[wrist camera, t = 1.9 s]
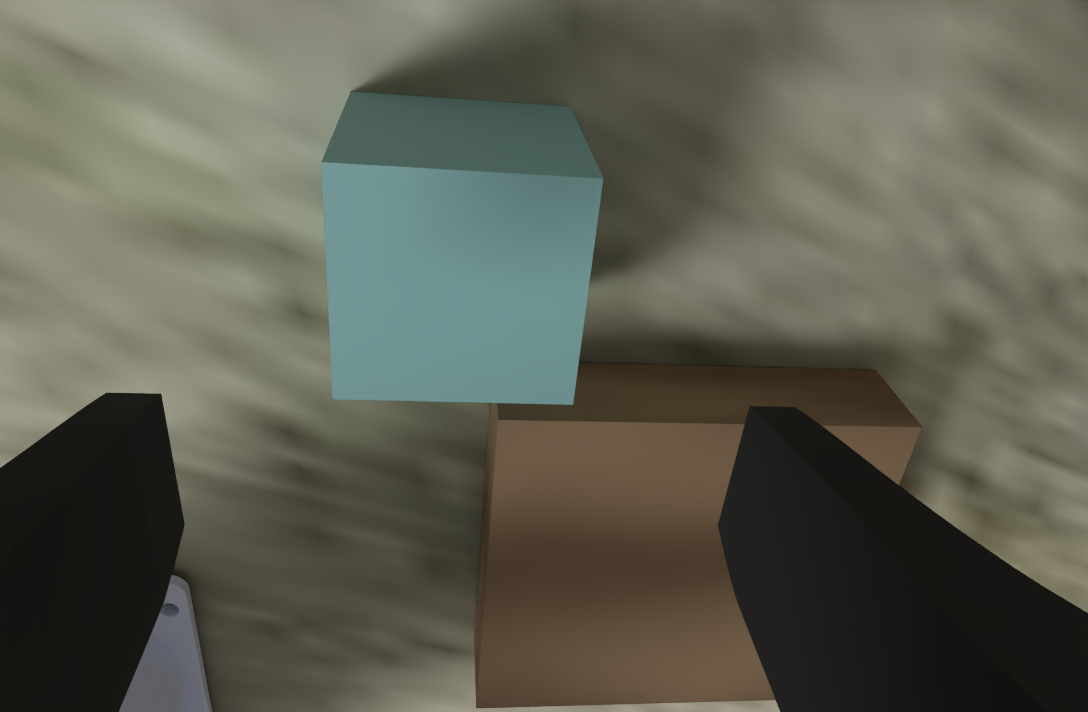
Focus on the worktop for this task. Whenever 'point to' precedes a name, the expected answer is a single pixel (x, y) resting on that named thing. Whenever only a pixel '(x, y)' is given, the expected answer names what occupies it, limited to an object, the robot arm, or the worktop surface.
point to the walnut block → (639, 530)
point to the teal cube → (457, 249)
